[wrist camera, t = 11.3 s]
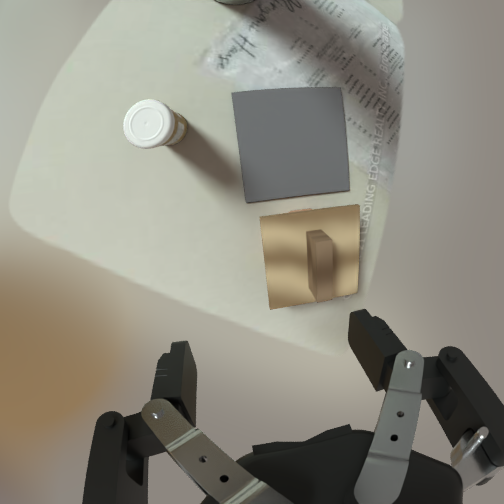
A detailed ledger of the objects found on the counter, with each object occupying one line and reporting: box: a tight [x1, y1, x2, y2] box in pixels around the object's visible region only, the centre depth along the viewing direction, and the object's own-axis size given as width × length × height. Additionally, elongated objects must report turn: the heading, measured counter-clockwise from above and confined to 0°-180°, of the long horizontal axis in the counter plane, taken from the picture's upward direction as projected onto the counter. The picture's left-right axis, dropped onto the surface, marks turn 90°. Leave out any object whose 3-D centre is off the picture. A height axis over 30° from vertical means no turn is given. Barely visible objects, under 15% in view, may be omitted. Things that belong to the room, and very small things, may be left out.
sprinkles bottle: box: [123, 99, 187, 149], centre depth 28 cm, size 5×5×13 cm
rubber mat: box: [232, 87, 349, 203], centre depth 37 cm, size 15×15×1 cm
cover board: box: [260, 204, 360, 310], centre depth 36 cm, size 13×13×5 cm
